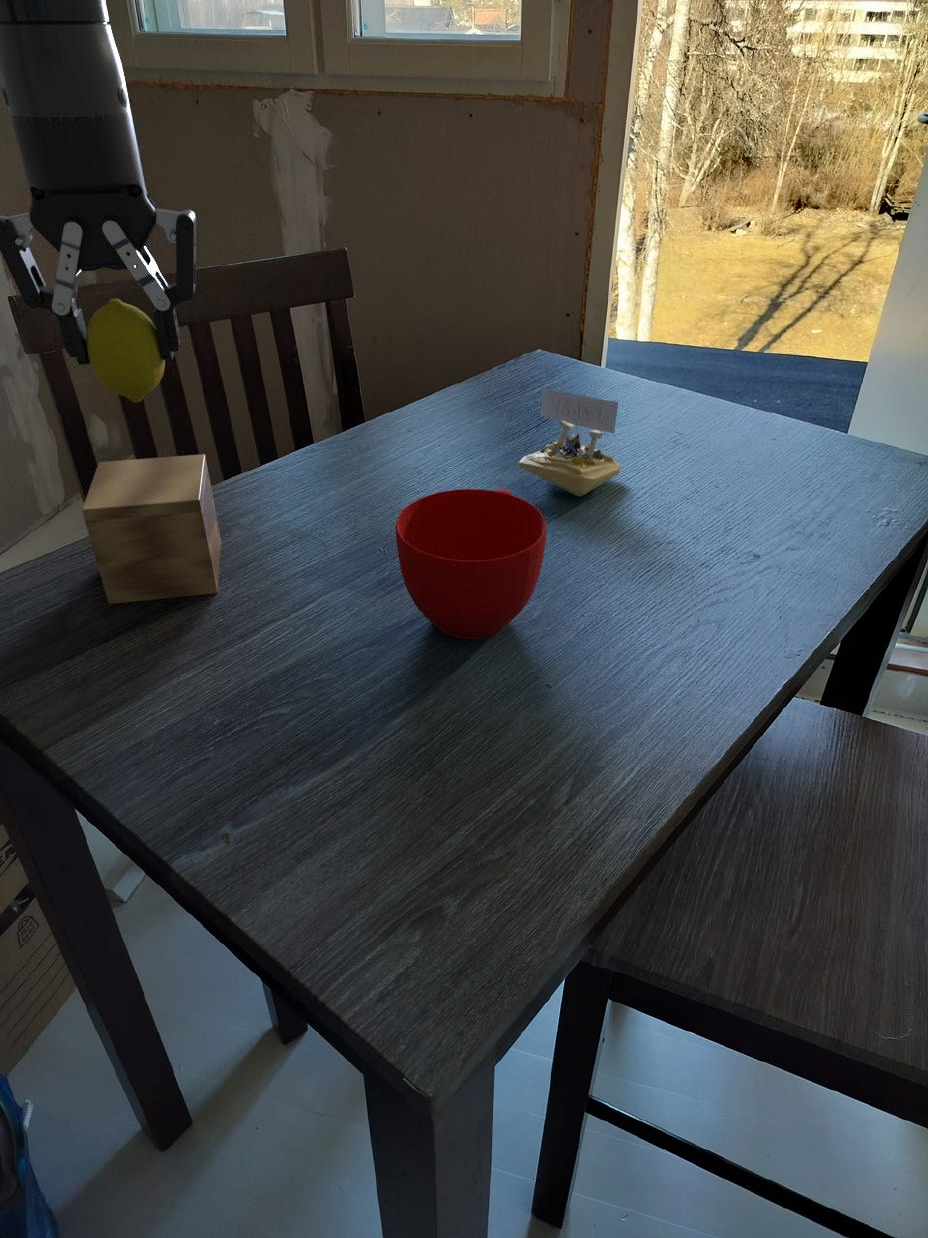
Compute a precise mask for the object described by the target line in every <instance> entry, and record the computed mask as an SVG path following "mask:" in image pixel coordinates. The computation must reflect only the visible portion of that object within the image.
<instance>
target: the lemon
mask: <svg viewBox="0 0 928 1238" xmlns="http://www.w3.org/2000/svg"><path fill="white" fill-rule="evenodd" d="M88 321H89V322H88V324H87V326H86V331H87V334H86V346H87V353H88V358H89V361H90V363H89V365H90V367H91V369H92V372H93V373H94V375H95V377H96V378H97V380H98V381H99V382H100V384H101V385H103V386H104V387H105V388H106V389H107V390H108V391H110V392H112V393H114V394H116V395H118V396H121V397H126V398H127V399H128V400H129V401H131V402H133V403H140V402H142V400H143V399H144V398H145V396H146V395H147V394H148V393H151V392H152V391H154V389H156V388H157V387H158V385H159V384H160V382H161V380H162V378H163V375H164V374H165V373H164V372H165V366H166V360H163V359H162V355H161V350H160V345H159V340H158V335H157V330H156V325H155V323H153V321H152V319H151V318H150V317H149V316H148V315H147V314H146V313H145V312H144V311H143V310H141V309H139V307H136V306H134V305H132V304H128V303H125V302H123V301H122V300H120V299H119V298H111V299H110V300H108V303H106V304H105V305H103V306H102V307H100V308H98V309H97V310H96V311H95V312H94V313H93V314H92V316H91V317H90V319H89V320H88Z"/></svg>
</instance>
